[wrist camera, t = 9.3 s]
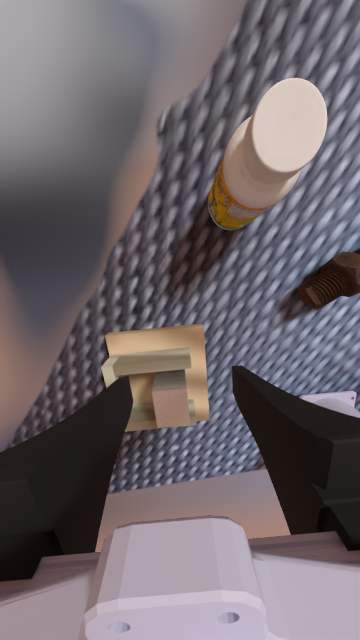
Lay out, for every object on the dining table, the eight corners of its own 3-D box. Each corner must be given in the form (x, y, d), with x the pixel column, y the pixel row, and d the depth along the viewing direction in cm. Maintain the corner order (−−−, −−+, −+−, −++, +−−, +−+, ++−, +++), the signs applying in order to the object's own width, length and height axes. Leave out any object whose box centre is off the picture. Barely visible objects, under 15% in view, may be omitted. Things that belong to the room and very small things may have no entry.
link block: (187, 393, 23) (190, 424, 18) (161, 395, 23) (157, 427, 18) (184, 363, 22) (186, 388, 17) (157, 365, 22) (151, 391, 17)
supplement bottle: (247, 236, 19) (316, 199, 10) (201, 225, 19) (225, 174, 9) (263, 180, 18) (360, 76, 8) (214, 167, 17) (257, 41, 8)
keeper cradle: (208, 414, 25) (214, 439, 21) (127, 421, 25) (118, 448, 21) (202, 323, 21) (207, 334, 18) (108, 333, 22) (93, 345, 18)
